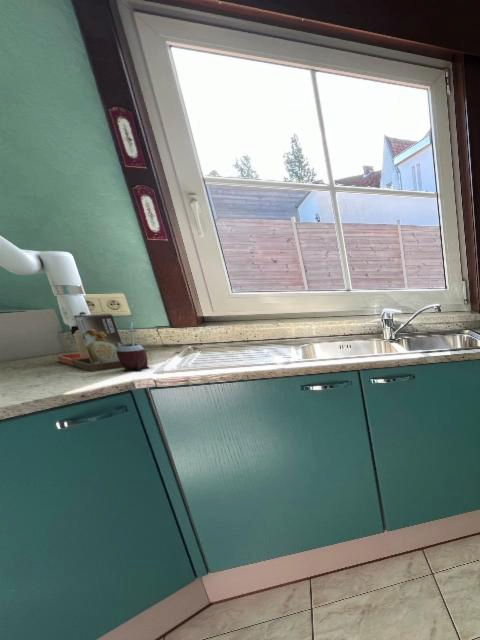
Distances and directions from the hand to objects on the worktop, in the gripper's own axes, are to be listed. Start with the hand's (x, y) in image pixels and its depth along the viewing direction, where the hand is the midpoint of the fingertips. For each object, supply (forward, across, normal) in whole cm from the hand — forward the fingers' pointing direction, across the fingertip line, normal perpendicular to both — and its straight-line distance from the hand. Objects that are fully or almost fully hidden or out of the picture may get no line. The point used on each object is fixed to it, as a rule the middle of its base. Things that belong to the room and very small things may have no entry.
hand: (86, 342), depth 170 cm
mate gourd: (+6, +28, +2) cm, 28 cm away
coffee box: (+6, +14, 0) cm, 15 cm away
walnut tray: (+6, +14, 0) cm, 15 cm away
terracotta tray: (+6, 0, 0) cm, 6 cm away
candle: (+6, 0, 0) cm, 6 cm away
